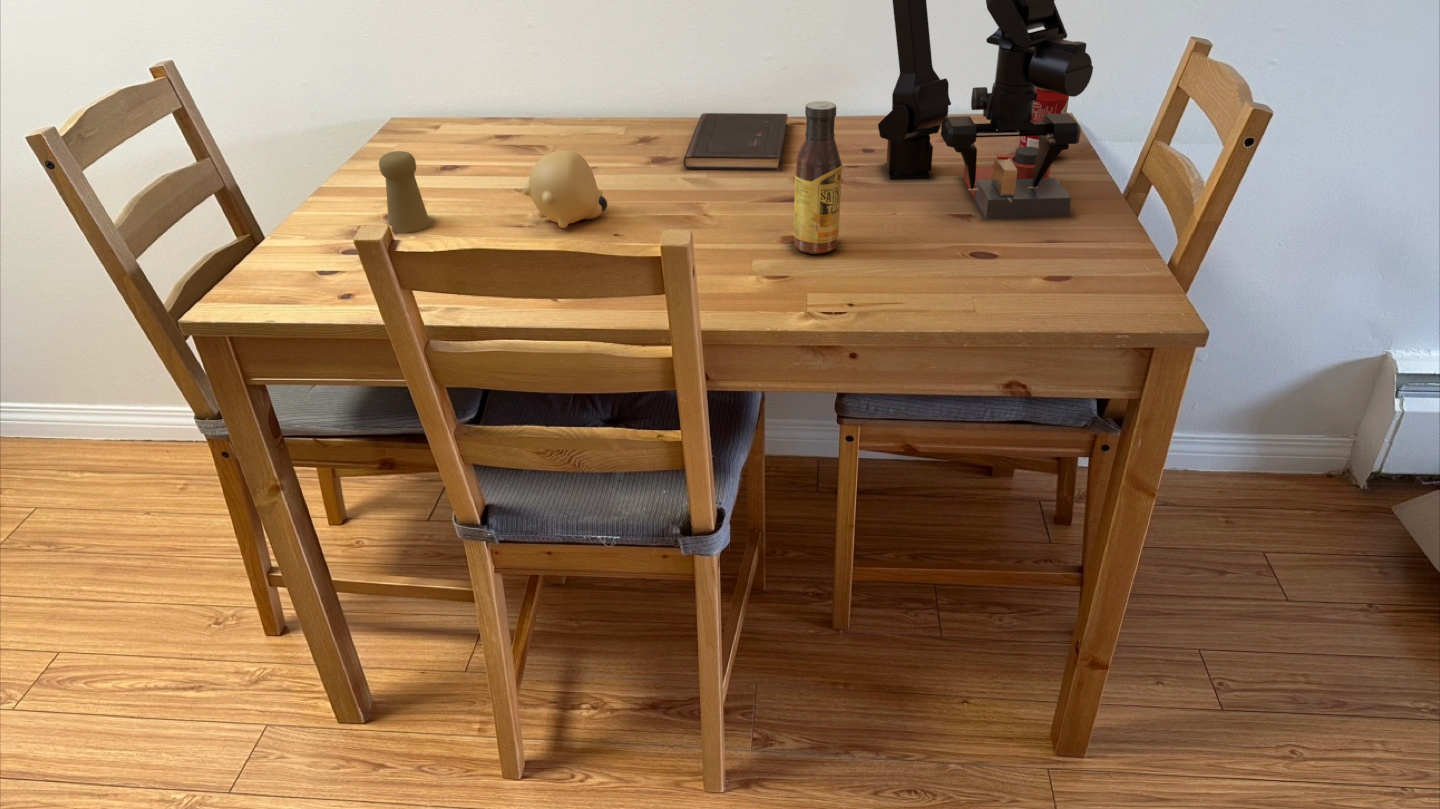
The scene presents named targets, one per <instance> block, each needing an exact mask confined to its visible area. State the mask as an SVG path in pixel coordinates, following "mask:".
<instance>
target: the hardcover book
mask: <svg viewBox="0 0 1440 809" xmlns="http://www.w3.org/2000/svg"><path fill="white" fill-rule="evenodd" d="M788 116H789V115H788V113H749V112H747V113H746V112H745V113H743V112H742V113H740V112H739V113H733V112H732V113H730V112H725V113H724V112H718V113H717V112H714V113H713V112H707V113H706V112H704V113H701V115H700V117H699V119H698V121H697V124H696V126H695V129H694V131H693V134H692V136H691V140H690V141H689V144H688V147H687V149H686V152H685V155H684V157H683V162H682V163H683V167H684V168H685V169H686V170H714V171H715V170H716V171H717V170H719V171H721V170H724V171H725V170H726V171H781V167H782V160H783V156H784V149H785V142H786V136H787V131H788V123H787V121H788Z"/></svg>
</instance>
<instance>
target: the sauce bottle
mask: <svg viewBox="0 0 1440 809" xmlns="http://www.w3.org/2000/svg"><path fill="white" fill-rule="evenodd" d="M804 111H805V112H804V113H805V118H806V119H805V120H806V122H805V134H804V135H805V139H804V141H803V143H802V144H801V145H800V147H799V149H798V151H797V155H796V163H795V164H796V165H795V166H796V167H795V173H794V203H793V237H794V247H795V249H797V250H798V251H799V252H802V253H806V254H811V255H814V254H815V255H816V254H817V255H818V254H826V253H829V252H833V251H834V250H835V248H836V247H837V243H838V238H839V236H840V235H839V234H840V216H841V215H840V211H841V195H842V194H841V193H842V192H841V191H842V174H843V163H842V160H841V157H840V153H839V150H838V146H837V142H836V139H835V136H836V135H835V119H836V117H837V105H836V104H835V103H834V102H832V101H825V100H818V101H811V102H807V103H806V104H805V110H804Z"/></svg>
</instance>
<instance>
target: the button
mask: <svg viewBox="0 0 1440 809" xmlns="http://www.w3.org/2000/svg"><path fill="white" fill-rule="evenodd" d="M1014 153H1015V159H1014V161H1015V162H1017V163H1019V164H1025V165H1035V163H1036V158H1037V153H1038V148H1035V147H1020V148H1019V147H1017V148H1016V149H1015V152H1014Z"/></svg>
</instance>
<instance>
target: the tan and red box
mask: <svg viewBox="0 0 1440 809" xmlns="http://www.w3.org/2000/svg"><path fill="white" fill-rule="evenodd" d="M1008 155H1009V154H996V155H995V156H994V158H993V165H992V166H993V173H992V183H993V185H994V186H995V188H996V190H997V191H998V193H999V194H1000V196H1014V193H1015V186H1016V178H1017V169H1016V167H1015V166H1014V164H1013V163H1012V161H1011V160H1010V158H1009V156H1008Z"/></svg>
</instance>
